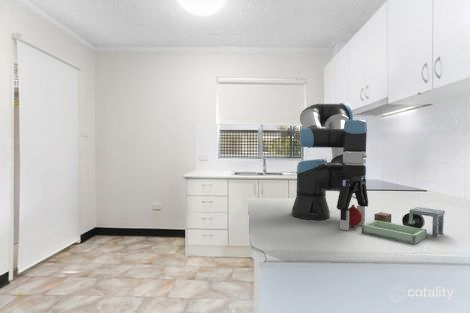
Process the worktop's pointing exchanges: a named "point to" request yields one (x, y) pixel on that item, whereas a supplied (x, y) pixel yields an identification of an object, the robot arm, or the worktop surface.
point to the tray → (394, 231)
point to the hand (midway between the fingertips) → (352, 226)
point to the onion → (354, 216)
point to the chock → (382, 217)
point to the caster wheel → (417, 220)
